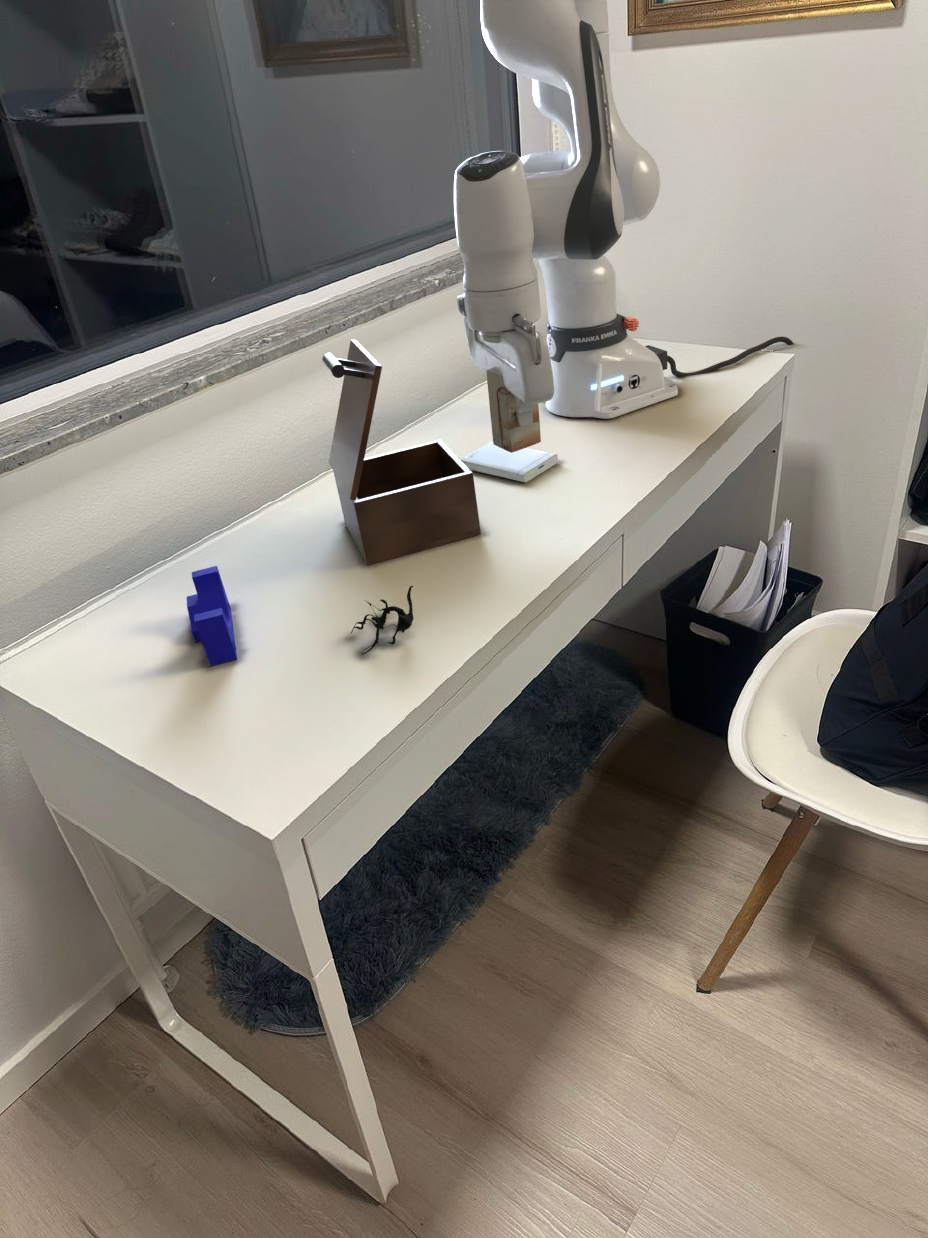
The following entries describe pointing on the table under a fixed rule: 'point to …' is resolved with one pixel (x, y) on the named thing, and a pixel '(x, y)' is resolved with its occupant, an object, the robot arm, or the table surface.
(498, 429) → the small cardboard box
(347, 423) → the lid
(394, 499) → the chest
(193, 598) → the cable clip
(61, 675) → the table surface
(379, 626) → the creature
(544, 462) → the hard drive
